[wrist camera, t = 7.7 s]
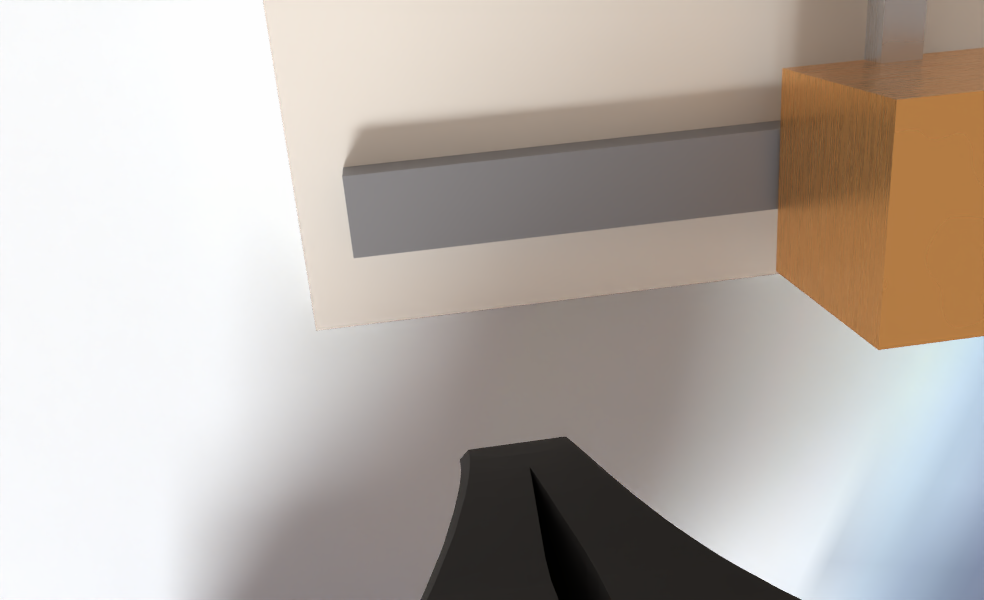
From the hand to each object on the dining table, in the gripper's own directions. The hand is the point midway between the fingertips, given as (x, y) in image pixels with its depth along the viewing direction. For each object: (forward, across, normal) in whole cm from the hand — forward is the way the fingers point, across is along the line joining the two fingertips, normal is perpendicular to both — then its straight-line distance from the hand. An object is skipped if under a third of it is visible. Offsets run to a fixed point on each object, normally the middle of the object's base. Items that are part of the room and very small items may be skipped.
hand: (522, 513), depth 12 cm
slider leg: (+8, -8, -3) cm, 12 cm away
